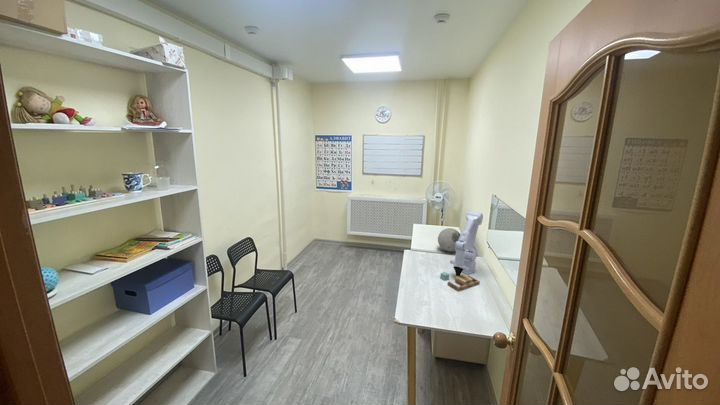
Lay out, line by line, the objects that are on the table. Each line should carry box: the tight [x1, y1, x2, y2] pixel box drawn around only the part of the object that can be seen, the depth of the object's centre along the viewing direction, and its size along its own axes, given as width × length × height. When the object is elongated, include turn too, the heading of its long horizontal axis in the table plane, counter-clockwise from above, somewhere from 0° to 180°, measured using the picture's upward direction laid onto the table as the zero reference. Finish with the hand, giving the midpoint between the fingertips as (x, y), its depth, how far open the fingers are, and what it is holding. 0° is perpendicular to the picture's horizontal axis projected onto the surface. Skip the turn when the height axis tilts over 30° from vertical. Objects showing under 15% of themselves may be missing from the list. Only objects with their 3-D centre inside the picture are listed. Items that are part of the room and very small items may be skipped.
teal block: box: [440, 271, 450, 282], centre depth 186 cm, size 4×4×4 cm
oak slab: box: [454, 273, 473, 284], centre depth 183 cm, size 8×8×3 cm
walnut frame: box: [447, 275, 481, 292], centre depth 179 cm, size 20×9×2 cm, turn 119°
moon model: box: [437, 227, 461, 253], centre depth 234 cm, size 20×20×20 cm
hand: (457, 276), depth 188 cm, fingers closed
